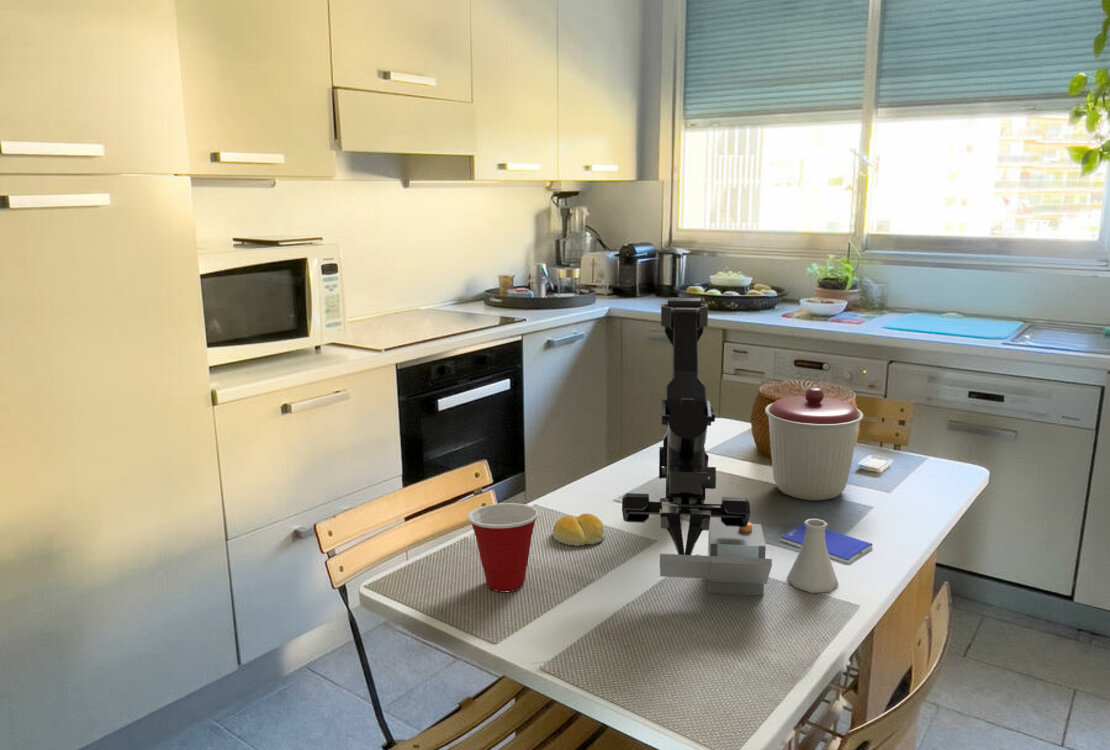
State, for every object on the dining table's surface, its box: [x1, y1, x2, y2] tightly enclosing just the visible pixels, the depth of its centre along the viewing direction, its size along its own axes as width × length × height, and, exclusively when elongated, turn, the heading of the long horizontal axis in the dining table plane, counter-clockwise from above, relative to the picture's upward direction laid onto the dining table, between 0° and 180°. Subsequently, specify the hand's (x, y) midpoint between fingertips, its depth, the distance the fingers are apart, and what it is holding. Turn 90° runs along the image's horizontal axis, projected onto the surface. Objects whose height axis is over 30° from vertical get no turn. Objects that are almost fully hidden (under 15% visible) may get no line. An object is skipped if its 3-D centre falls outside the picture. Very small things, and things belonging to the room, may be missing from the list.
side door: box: [659, 553, 773, 585], centre depth 123 cm, size 1×16×8 cm
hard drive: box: [780, 523, 874, 565], centre depth 143 cm, size 2×8×12 cm
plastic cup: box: [467, 502, 539, 592], centre depth 131 cm, size 11×11×12 cm
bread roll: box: [552, 513, 606, 547], centre depth 148 cm, size 8×9×4 cm
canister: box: [764, 386, 864, 501], centre depth 165 cm, size 18×18×21 cm
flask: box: [786, 518, 839, 594], centre depth 129 cm, size 7×7×10 cm
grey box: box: [707, 521, 767, 597], centre depth 130 cm, size 9×8×9 cm
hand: (684, 565), depth 124 cm, fingers closed, pressing on side door
